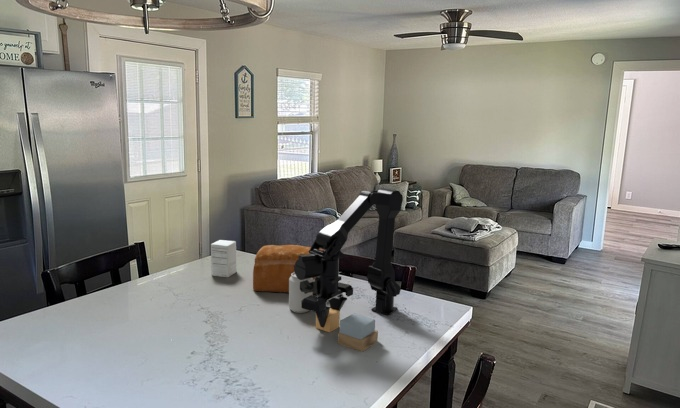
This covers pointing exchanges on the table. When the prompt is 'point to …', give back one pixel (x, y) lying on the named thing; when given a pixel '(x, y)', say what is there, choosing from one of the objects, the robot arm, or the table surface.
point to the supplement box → (223, 258)
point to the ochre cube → (330, 321)
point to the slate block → (357, 326)
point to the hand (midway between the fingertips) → (327, 324)
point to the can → (296, 294)
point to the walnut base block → (358, 341)
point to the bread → (276, 267)
